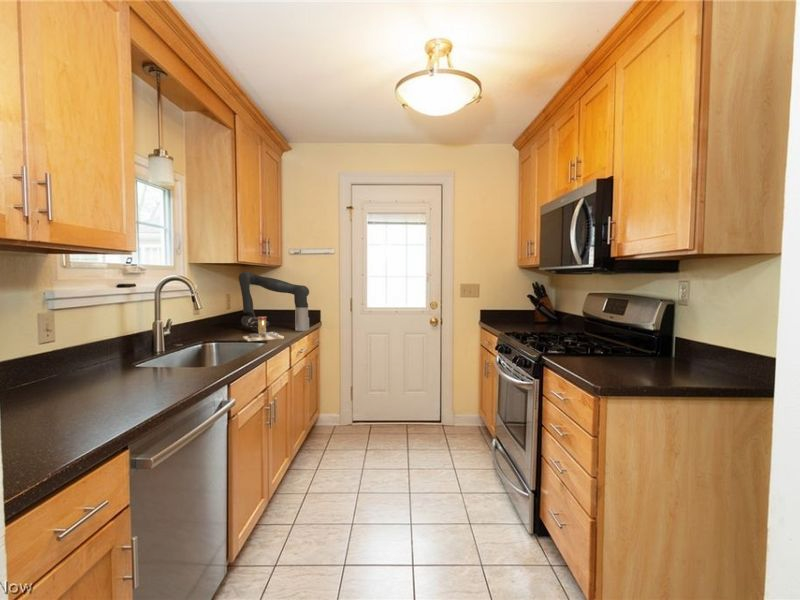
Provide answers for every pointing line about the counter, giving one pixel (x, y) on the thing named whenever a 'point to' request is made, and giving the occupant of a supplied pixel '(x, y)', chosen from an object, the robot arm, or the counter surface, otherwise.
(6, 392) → the counter surface
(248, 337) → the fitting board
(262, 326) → the yellow jar
